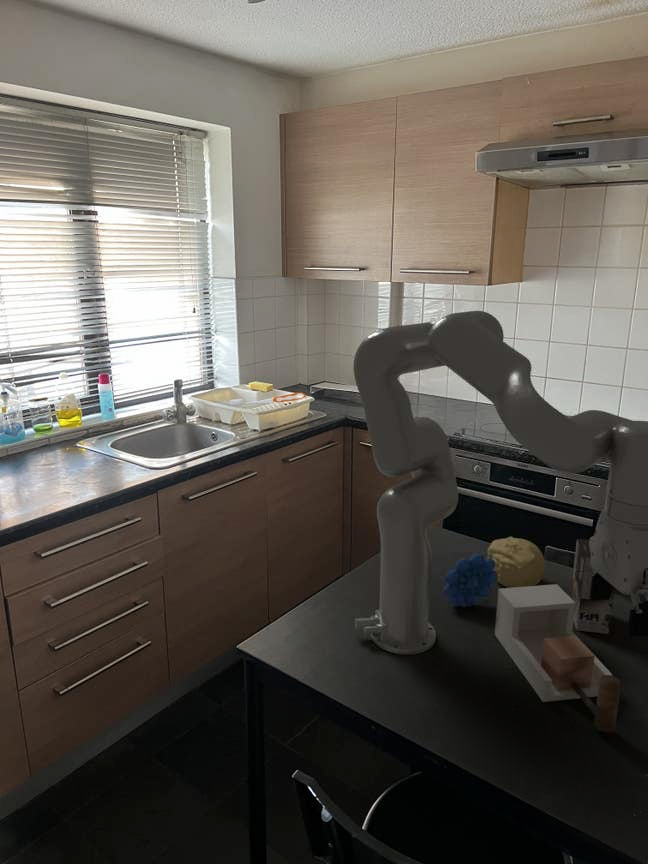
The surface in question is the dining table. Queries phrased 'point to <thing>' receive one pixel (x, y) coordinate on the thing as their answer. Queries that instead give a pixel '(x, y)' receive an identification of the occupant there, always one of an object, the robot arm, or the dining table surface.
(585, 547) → the coffee box
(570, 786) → the dining table surface
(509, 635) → the shelf lane
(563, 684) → the wooden mallet
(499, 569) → the sculpture
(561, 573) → the dining table surface
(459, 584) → the grapes
